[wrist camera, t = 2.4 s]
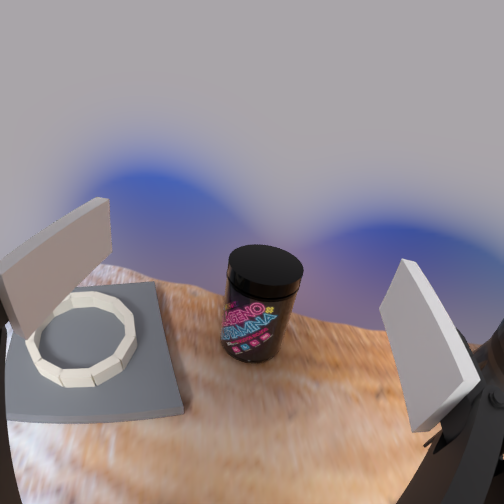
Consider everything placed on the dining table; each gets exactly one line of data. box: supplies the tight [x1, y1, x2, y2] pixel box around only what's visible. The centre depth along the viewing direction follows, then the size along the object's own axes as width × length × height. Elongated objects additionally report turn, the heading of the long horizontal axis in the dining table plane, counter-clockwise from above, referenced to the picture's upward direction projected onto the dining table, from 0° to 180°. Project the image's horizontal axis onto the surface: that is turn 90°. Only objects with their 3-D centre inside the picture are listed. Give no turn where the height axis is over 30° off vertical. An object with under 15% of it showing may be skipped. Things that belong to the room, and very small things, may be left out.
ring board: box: [5, 281, 184, 424], centre depth 24 cm, size 18×18×3 cm
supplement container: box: [220, 245, 304, 363], centre depth 28 cm, size 7×7×10 cm
